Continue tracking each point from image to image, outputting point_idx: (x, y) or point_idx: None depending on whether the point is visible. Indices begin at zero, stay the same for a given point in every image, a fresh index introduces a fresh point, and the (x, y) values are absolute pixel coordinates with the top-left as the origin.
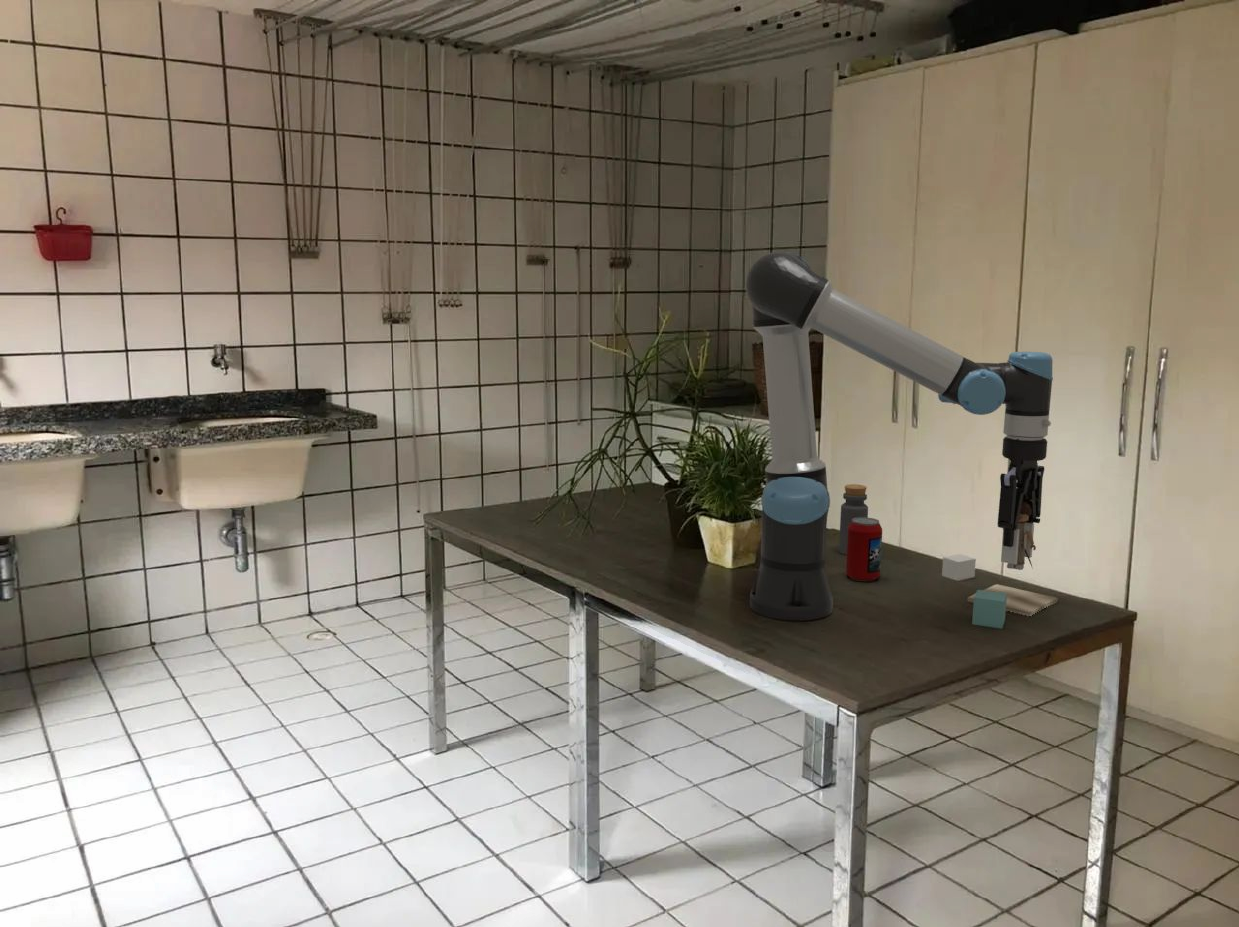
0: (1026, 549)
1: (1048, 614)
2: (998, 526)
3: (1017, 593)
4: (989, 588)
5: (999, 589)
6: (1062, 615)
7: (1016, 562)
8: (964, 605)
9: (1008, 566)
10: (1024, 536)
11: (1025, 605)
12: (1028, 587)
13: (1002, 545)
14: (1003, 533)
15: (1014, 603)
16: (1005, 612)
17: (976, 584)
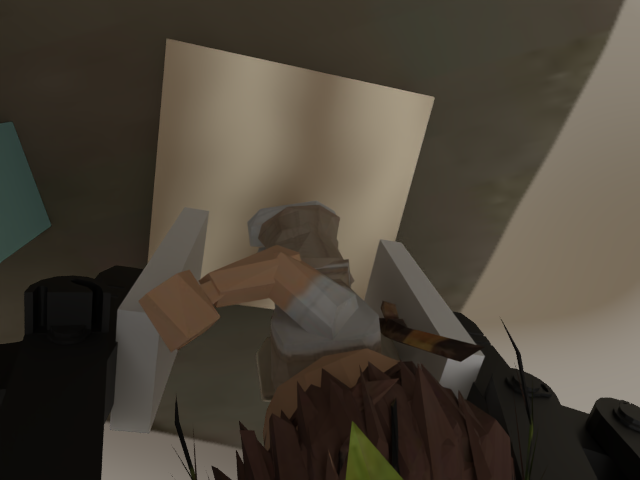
0: (375, 311)
1: (218, 322)
2: (46, 285)
3: (349, 200)
4: (356, 88)
5: (364, 128)
6: (236, 356)
7: None
8: (110, 43)
9: (250, 222)
10: (263, 391)
11: (216, 259)
12: (496, 199)
13: (160, 245)
14: (135, 286)
15: (214, 222)
16: (37, 235)
17: (442, 6)
